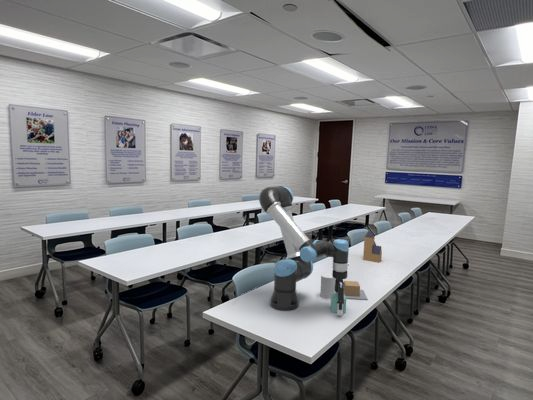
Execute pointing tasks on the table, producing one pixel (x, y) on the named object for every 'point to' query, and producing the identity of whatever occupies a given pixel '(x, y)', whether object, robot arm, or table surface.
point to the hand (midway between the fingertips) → (338, 309)
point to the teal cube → (334, 303)
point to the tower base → (362, 296)
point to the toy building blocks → (371, 249)
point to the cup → (327, 285)
